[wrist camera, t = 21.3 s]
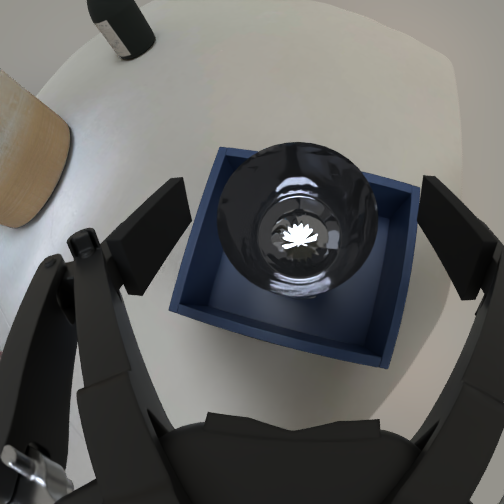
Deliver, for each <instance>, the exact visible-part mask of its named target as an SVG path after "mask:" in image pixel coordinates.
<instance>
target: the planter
mask: <svg viewBox="0 0 504 504" xmlns="http://www.w3.org/2000/svg"><path fill="white" fill-rule="evenodd" d="M69 145H70V131H69V127H68V125H67V123H66V122H65V121H64V120H63V119H62V118H61V117H60V116H59V115H57V114H56V113H55V112H54V111H52V110H51V109H50V108H49V107H47V106H46V105H45V104H43V103H42V102H41V101H40V100H38V99H37V98H36V97H35V96H33V95H32V94H31V93H30V92H28V91H27V90H26V89H25V88H23V87H22V86H21V85H20V84H18V83H17V82H16V81H15V80H14V79H12V78H11V77H10V76H9V75H8V74H6V73H5V72H4V71H3V70H2V69H0V224H1V225H4V226H7V227H12V228H18V227H21V226H23V225H25V224H26V223H28V222H29V221H30V220H31V219H32V218H34V217H35V216H36V215H37V214H38V212H39V211H40V210H41V209H42V207H43V206H44V205H45V203H46V202H47V201H48V199H49V198H50V196H51V194H52V193H53V191H54V189H55V187H56V185H57V183H58V181H59V179H60V177H61V174H62V172H63V169H64V166H65V163H66V160H67V156H68V151H69Z"/></svg>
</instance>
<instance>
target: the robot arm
mask: <svg viewBox="0 0 504 504" xmlns="http://www.w3.org/2000/svg"><path fill="white" fill-rule="evenodd" d="M191 221H192V219H191V214H190V210H189V205H188V200H187V195H186V190H185V185H184V180H183V177H179V178H170V179H169V180H168V181H167V182H166V183H165V184H164V185H163V186H161V187H160V188H159V189H158V190H157V191H156V192H155V193H154V194H153V195H151V196H150V197H149V198H148V199H147V200H146V201H145V202H144V203H143V204H142V205H141V206H140V207H139V208H138V209H137V210H135V211H134V212H133V213H132V214H131V215H130V216H129V217H128V218H127V219H126V220H125V221H124V222H122V223H121V224H120V225H119V226H118V227H117V228H116V230H114V231H113V232H112V233H111V234H110V235H109V236H108V237H107V238H106V239H105V240H104V241H103V242H102V243H101V244H100V243H99V241H98V238H97V235H96V233H95V230H94V229H93V228H86V229H83V230H80V231H78V232H76V233H74V234H73V235H72V236H70V238H69V239H68V240H67V244H68V247H69V249H70V251H71V254H72V256H73V258H74V261H72V262H68V263H65V262H64V260H63V257H62V256H61V254H55V255H52V256H48V257H47V258H45V259H44V261H43V262H42V263H41V264H40V265H39V267H38V269H37V271H36V273H35V275H34V277H33V279H32V281H31V283H30V285H29V287H28V289H27V292H26V294H25V296H24V298H23V300H22V303H21V305H20V307H19V310H18V312H17V315H16V317H15V320H14V322H13V325H12V327H11V330H10V333H9V335H8V338H7V341H6V344H5V347H4V350H3V353H2V356H1V359H0V504H473V503H472V502H471V501H470V498H471V496H472V494H473V493H474V491H475V489H476V487H477V485H478V484H479V482H480V480H481V478H482V476H483V474H484V472H485V470H486V468H487V466H488V464H489V462H490V459H491V458H492V455H493V453H494V451H495V448H496V446H497V444H498V441H499V439H500V436H501V433H502V431H503V428H504V245H503V244H502V243H501V242H500V241H499V240H498V238H497V237H496V236H495V235H494V234H493V232H492V231H491V230H489V228H488V227H487V225H486V224H485V223H484V222H482V221H481V220H479V219H478V218H477V217H476V216H475V215H474V214H473V213H472V212H471V211H470V210H469V209H468V208H467V207H466V206H465V205H464V204H463V203H462V202H461V201H460V200H459V199H458V198H457V197H456V196H455V195H454V194H453V193H452V192H451V191H450V190H449V189H448V188H447V187H446V186H445V185H444V184H443V183H442V182H441V181H440V180H439V179H437V178H436V177H435V176H425V175H423V182H422V189H421V197H420V203H419V209H418V215H417V222H418V224H419V226H420V227H421V229H422V230H423V232H424V233H425V235H426V237H427V238H428V240H429V242H430V243H431V245H432V247H433V248H434V250H435V252H436V253H437V255H438V257H439V259H440V260H441V262H442V264H443V266H444V268H445V269H446V271H447V273H448V275H449V277H450V279H451V281H452V282H453V284H454V286H455V288H456V290H457V292H458V294H459V296H460V298H461V300H475V299H476V297H477V295H478V293H479V290H480V288H481V289H482V290H483V292H484V296H483V299H482V301H481V303H480V305H479V307H478V309H477V311H476V313H475V315H476V317H475V321H474V323H473V326H472V328H471V331H470V333H469V336H468V338H467V341H466V343H465V345H464V348H463V350H462V352H461V354H460V357H459V359H458V361H457V363H456V365H455V368H454V369H453V371H452V373H451V375H450V377H449V379H448V381H447V383H446V385H445V387H444V389H443V391H442V393H441V394H440V396H439V398H438V400H437V402H436V403H435V405H434V407H433V408H432V410H431V412H430V413H429V415H428V417H427V418H426V420H425V421H424V423H423V425H422V426H421V428H420V429H419V430H418V432H417V433H416V434H415V435H414V437H413V438H412V439H411V440H410V441H409V440H408V439H406V438H404V437H402V436H400V435H398V434H395V433H392V432H389V431H385V430H380V419H375V420H358V421H337V422H333V423H329V424H325V425H320V426H316V427H311V428H306V429H301V430H296V431H291V430H286V429H283V428H280V427H276V426H273V425H270V424H267V423H264V422H261V421H257V420H255V419H252V418H249V417H240V416H232V415H224V414H217V413H211V412H208V413H207V417H206V420H205V422H200V423H194V424H189V425H186V426H182V427H180V428H177V429H174V427H173V426H172V424H171V423H170V421H169V419H168V417H167V415H166V413H165V411H164V409H163V407H162V404H161V402H160V400H159V398H158V395H157V393H156V391H155V388H154V386H153V383H152V381H151V378H150V376H149V374H148V371H147V368H146V366H145V363H144V361H143V358H142V355H141V353H140V350H139V347H138V344H137V341H136V338H135V336H134V333H133V330H132V327H131V324H130V320H129V317H128V314H127V311H126V308H125V304H124V301H123V298H122V295H121V293H120V291H119V289H120V288H121V286H122V285H123V284H124V286H125V289H126V291H127V293H128V295H139V296H143V294H144V293H145V291H146V289H147V288H148V286H149V285H150V283H151V281H152V280H153V278H154V277H155V275H156V274H157V272H158V270H159V269H160V267H161V266H162V264H163V263H164V261H165V260H166V258H167V257H168V255H169V254H170V252H171V251H172V249H173V248H174V246H175V245H176V243H177V242H178V240H179V239H180V237H181V236H182V234H183V233H184V231H185V230H186V229H187V227H188V226H189V224H190V223H191ZM77 342H78V347H79V355H80V362H81V369H82V375H83V381H84V388H82V389H79V390H78V391H77V404H78V409H79V414H80V419H81V424H82V428H83V433H84V437H85V441H86V445H87V449H88V452H89V456H90V460H91V463H92V466H93V470H94V473H95V476H96V479H94V480H93V481H91V482H89V483H87V484H85V485H84V486H82V487H80V488H78V489H76V490H74V485H73V483H72V481H71V480H70V479H68V478H67V476H66V473H65V469H66V463H67V456H68V441H69V414H70V400H71V388H72V379H73V370H74V362H75V355H76V349H77ZM73 490H74V491H73ZM498 504H504V496H503V497H502V499H501V501H500V503H498Z"/></svg>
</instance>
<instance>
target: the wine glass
mask: <svg viewBox="0 0 504 504" xmlns="http://www.w3.org/2000/svg"><path fill="white" fill-rule="evenodd" d="M217 229H218V236H219V239H220V242H221V245H222V248H223V250H224V252H225V254H226V256H227V258H228V259H229V261H230V263H231V264H232V265H233V266H234V267H235V269H236V270H237V271H238V272H239V273H240V274H241V275H242V276H243V277H244V278H246V279H247V280H248V281H249V282H250V283H252V284H254V285H255V286H257V287H259V288H261V289H263V290H264V291H266V292H269V293H272V294H275V295H278V296H282V297H288V298H292V299H297V300H307V299H311V298H314V297H317V296H319V295H323V294H325V293H327V292H330V291H332V290H335V289H336V288H338V287H339V286H341V285H342V284H344V283H345V282H347V281H348V280H349V279H350V278H351V277H352V276H353V275H354V274H355V273H357V272H358V271H359V269H360V268H361V267H362V265H363V264H364V263H365V261H366V260H367V258H368V257H369V255H370V252H371V250H372V248H373V246H374V243H375V240H376V236H377V231H378V209H377V202H376V199H375V196H374V193H373V190H372V188H371V186H370V184H369V183H368V181H367V179H366V177H365V176H364V175H363V174H362V172H361V171H360V170H359V168H358V167H356V166H355V165H354V164H353V163H352V162H351V161H350V160H349V159H347V158H346V157H344V156H343V155H341V154H340V153H338V152H336V151H334V150H332V149H329V148H327V147H325V146H321V145H317V144H313V143H304V142H292V143H283V144H278V145H274V146H271V147H269V148H266V149H263V150H261V151H259V152H258V153H256V154H254V155H252V156H251V157H249V158H248V159H247V160H246V161H244V162H243V163H242V164H241V165H240V166H239V167H238V168H237V169H236V170H235V171H234V173H233V174H232V175H231V176H230V178H229V180H228V181H227V183H226V184H225V186H224V189H223V191H222V194H221V196H220V200H219V204H218V209H217Z"/></svg>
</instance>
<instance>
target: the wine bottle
mask: <svg viewBox="0 0 504 504" xmlns="http://www.w3.org/2000/svg"><path fill="white" fill-rule="evenodd" d="M87 5H88V10H89V14H90V16H91V19H92V21H93V23H94V24H95V25H96V27H97V28H98V29H99V30H100V32H101V33H102V34H103V36H104V37H105V38H106V40H107V41H108V42H109V44H110V45H111V46H112V48H113V49H114V50H115V52H116V53H117V54H118V55H119V56H120V57H121V58H123V59H130V58H134V57H136V56H138V55H140V54H142V53H143V52H145V51H146V50H147V49H148V48H149V47H150V46H151V45H152V44H153V42H154V39H155V36H154V33H153V31H152V29H151V28H150V26H149V24H148V23H147V21H146V19H145V18H144V16H143V14H142V13H141V11H140V9H139V8H138V6H137V4H136V3H135V1H134V0H87Z"/></svg>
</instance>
